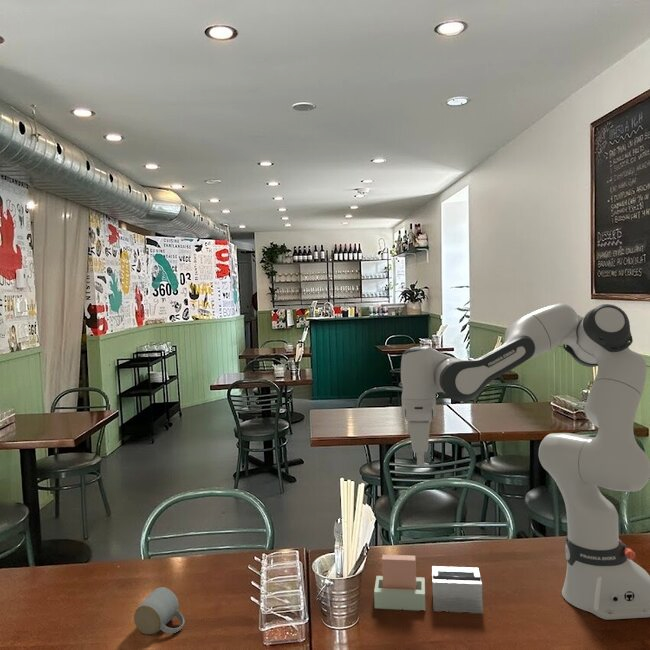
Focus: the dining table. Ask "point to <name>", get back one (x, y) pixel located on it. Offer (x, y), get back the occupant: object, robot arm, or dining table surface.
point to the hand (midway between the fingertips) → (420, 460)
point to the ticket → (399, 572)
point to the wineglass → (338, 527)
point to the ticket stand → (400, 596)
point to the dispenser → (457, 589)
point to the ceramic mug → (158, 612)
